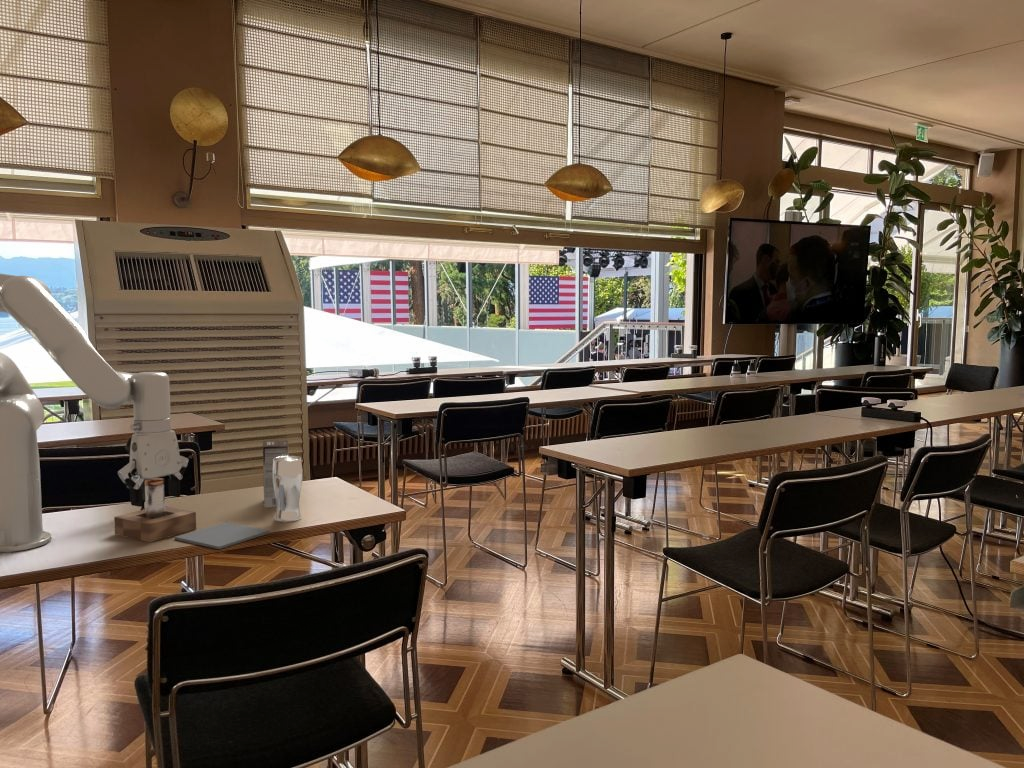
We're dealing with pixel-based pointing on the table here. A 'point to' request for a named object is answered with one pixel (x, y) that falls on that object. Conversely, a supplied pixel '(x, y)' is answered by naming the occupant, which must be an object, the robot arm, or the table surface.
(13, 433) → the robot arm
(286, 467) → the beer glass
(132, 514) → the eye block
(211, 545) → the slate mat
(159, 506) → the steel peg
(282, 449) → the coffee box
